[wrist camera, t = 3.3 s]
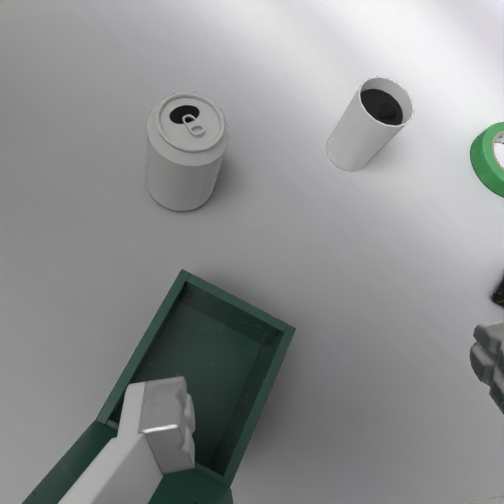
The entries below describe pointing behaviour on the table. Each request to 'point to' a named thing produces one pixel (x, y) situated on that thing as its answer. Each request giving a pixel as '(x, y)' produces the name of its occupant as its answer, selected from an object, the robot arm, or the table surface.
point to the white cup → (369, 122)
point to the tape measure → (500, 295)
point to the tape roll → (489, 158)
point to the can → (184, 150)
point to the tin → (209, 368)
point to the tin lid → (163, 500)
